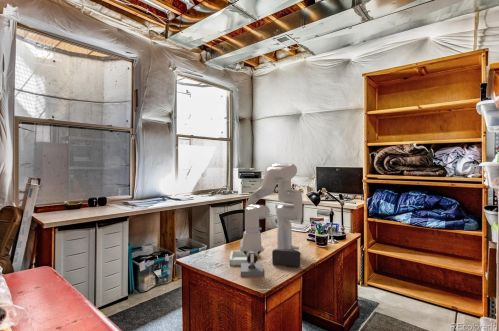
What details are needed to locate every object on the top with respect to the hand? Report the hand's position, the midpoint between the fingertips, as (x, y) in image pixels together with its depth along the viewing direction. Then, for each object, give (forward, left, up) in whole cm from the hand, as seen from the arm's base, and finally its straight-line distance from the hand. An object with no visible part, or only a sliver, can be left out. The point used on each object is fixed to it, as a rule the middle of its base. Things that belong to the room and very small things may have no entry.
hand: (252, 262), depth 154 cm
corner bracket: (+2, -33, -6) cm, 33 cm away
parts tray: (+6, -17, -6) cm, 19 cm away
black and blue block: (-20, -9, -6) cm, 22 cm away
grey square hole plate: (0, 0, -6) cm, 6 cm away
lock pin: (0, 0, -4) cm, 4 cm away
